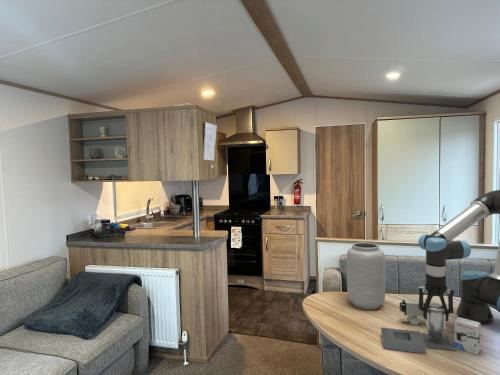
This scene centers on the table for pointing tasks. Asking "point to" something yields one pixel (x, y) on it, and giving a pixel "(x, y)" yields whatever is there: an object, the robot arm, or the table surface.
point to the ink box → (467, 335)
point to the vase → (366, 275)
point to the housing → (403, 340)
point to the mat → (438, 342)
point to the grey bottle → (435, 320)
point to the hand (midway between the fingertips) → (435, 326)
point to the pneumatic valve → (411, 310)
